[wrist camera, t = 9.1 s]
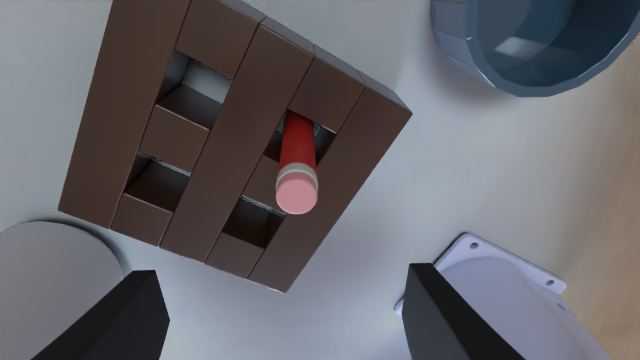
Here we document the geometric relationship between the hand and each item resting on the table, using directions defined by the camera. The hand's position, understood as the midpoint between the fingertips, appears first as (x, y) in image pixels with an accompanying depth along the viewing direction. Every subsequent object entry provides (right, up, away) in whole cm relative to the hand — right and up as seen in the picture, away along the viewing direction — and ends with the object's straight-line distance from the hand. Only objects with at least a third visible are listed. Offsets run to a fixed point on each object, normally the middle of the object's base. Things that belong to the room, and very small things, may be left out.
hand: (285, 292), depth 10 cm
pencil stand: (-3, +6, +9) cm, 11 cm away
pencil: (0, +7, +8) cm, 11 cm away
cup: (+10, +12, +6) cm, 16 cm away
